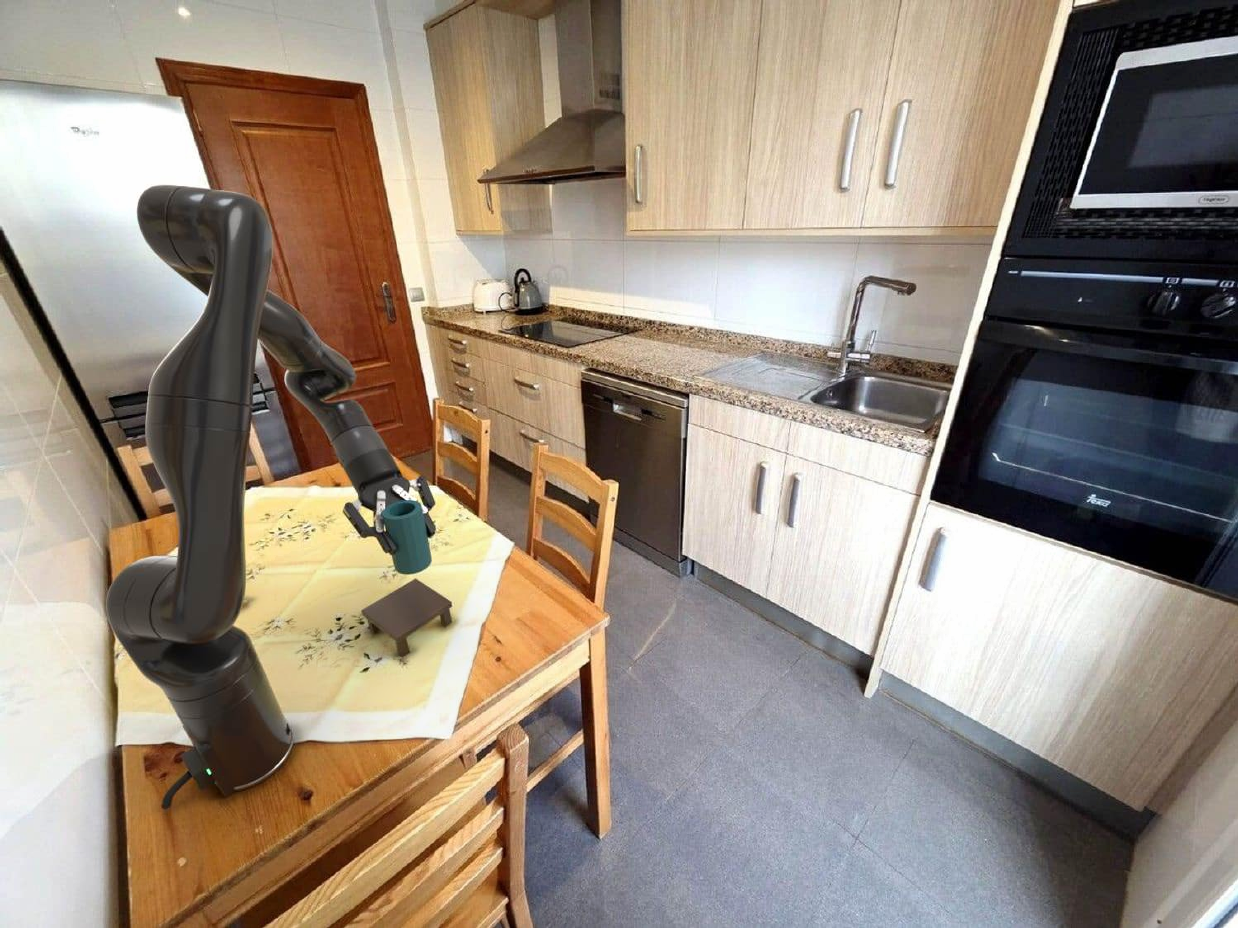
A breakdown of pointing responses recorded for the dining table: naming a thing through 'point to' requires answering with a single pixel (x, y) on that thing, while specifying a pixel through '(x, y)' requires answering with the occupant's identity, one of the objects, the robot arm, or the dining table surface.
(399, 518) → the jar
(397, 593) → the stand
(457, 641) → the dining table surface
